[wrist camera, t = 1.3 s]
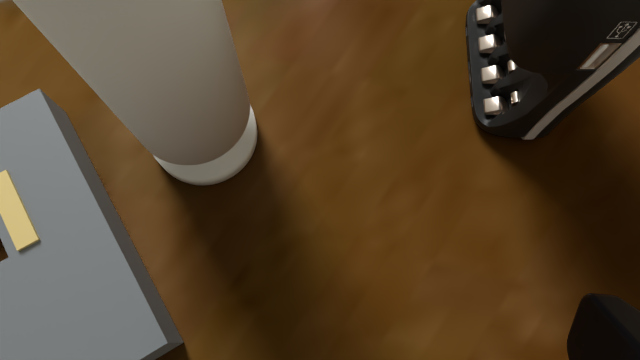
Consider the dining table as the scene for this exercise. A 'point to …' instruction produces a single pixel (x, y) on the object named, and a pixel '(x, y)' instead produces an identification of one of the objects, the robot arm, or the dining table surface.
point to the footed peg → (161, 77)
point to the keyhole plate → (67, 251)
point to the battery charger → (544, 59)
